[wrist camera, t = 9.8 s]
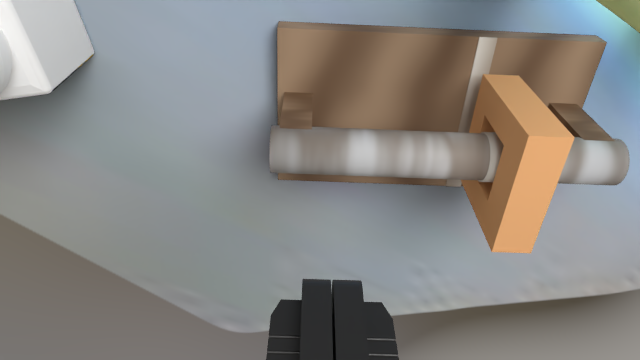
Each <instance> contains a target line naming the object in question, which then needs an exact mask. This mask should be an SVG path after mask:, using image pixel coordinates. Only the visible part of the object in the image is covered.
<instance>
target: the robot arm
mask: <svg viewBox="0 0 640 360" xmlns="http://www.w3.org/2000/svg"><path fill="white" fill-rule="evenodd" d="M395 339H396V338H395V331H394V325H393V319H392V318H391V316H390V314H389V313H388V311H387V310H386V308H385V307H384V305H383V304H382V302H364V299H363V289H362V282H361V281H355V280H333V281H332V292H331V280H318V279H303V283H302V300H280V302H279V304H278V305H277V307H276V308H275V310H274V312H273V313H272V315H271V320H270V329H269V339H268V348H267V359H266V360H399V358H398V351H397V344H396V341H395Z"/></svg>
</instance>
